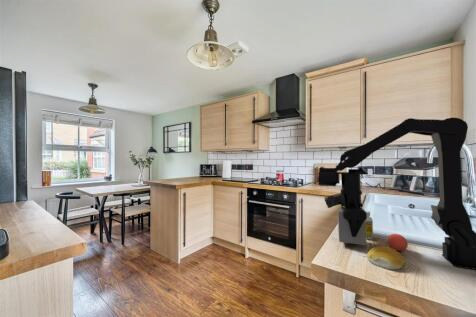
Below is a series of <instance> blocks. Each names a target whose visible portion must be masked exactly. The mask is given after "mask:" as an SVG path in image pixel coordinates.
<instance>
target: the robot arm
mask: <svg viewBox="0 0 476 317" xmlns="http://www.w3.org/2000/svg"><path fill="white" fill-rule="evenodd" d="M468 130H469V126H468V123H467V122H466V121H465V120H463V119H461V118H458V117H449V118H448V117H447V118H445V119H435V118H434V119H431V118H430V119H423V118H422V119H419V118H412V117H411V118H406V119H404V120H403V121H402V122H401V123H399V124H397V125H395V126H394V127H392V128H391V129H389V130H387V131H385V132H383V133H382V134H380V135H378V136H377V137H375V138H373V139H371V140H370V141H368V142H366V143H363V144H362V145H359V146H356V147H353V148H351V149H348V150H345V151H344V152H343V153H342V154H340V158H339V159H340V162H338V164H337V165H335V167H323V166H322V167H319V168H318V177H317V183H318V186H320V187H337V185H338V184H341V189H340V193H335V194H331V195H327V196H325V197H324V199H323V200H324V202H325V205H326V207H327V209H331V208H333V207H336V206H339V205H340V207H341V208H340V210H343V218H344V219H346V220H347V221H348V222H349V226H350V230H351V235H352V237H356V236H357V234H358V232H359V230H360V228H361V226H362V224H363V222H364V221H365V220H366V219H367V213H366V212H365V210H366V209H364V208H363V203H362V194H363V191H362V189H361V188H362V181H361V175H367V174H368V173H367V171H366V170H365V169H363V167H362V166H360V167H359V168H357V169H356V168H355V167H356V166H358V165H359V164H361V163H363V161H364V160H366V159H367V158H368V157H369V156H371V155H372V154H373V153H375V152H377V151H379V150H380V149H382V148H384V147H386V146H387V145H389V144H391V143H393V142H394V141H395V142H396V140H398V139H400V138H403V137H404V136H406V135H408V134H414V135H415V134H416V135H421V136H430V137H431V140H432V143H433V145H434V147H435V150H436V152H437V163H438V165H437V166H438V187H439V200H438V203H437V205H433V204H431V205H430V207H431V208H430V209H431V211H432V215H431V217H430V218H431V219H432V221H434V224H435V225H436V226H437V227H438V228H440V230H442V231H443V232H444V234H445V235H446V236H444V242H442V243H441V244H442V254H441V256H442V257H443V258H444V259H445V260H446V261H447V262H448V263H450V264H451V265H452V266H453V267H456V268H457V267H458V268H464V269H470V270H476V232H475V231H474V230H473V225H472V222H471V221H472V220H471V218H470V216H469V214H468V211H467V210H466V207H465V205H464V203H463V184H462V183H463V181H462V178H463V177H462V158H461V150H462V149H463V146H464V144H465V142H466V138H467V133H468ZM346 168H349V169H348V171H343V170H345V169H346ZM353 168H354V169H353ZM340 175H341V176H340ZM340 177H341V178H340ZM340 181H341V182H340Z"/></svg>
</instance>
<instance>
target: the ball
mask: <svg viewBox="0 0 476 317" xmlns="http://www.w3.org/2000/svg"><path fill="white" fill-rule="evenodd" d="M386 241H387V244H388V246H389V248H392V249H394V250H396V251H397V252H398V251H399V252H402V251H405V250H406V249H407V248H408V240H407V239H406V238H405V237H404V236H403V235H401V234H399V233H398V234H397V233H392V234H390V235H388V236H387V240H386Z"/></svg>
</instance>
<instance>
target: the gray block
mask: <svg viewBox="0 0 476 317" xmlns="http://www.w3.org/2000/svg"><path fill="white" fill-rule="evenodd" d="M337 224H338V225H337V226H338V227H337V229H338V242H339V243H347V244H354V245H360V246H361V245H362V246H367V245H368V244H367V239H366V220H365V221H364V222H363V224H362V226H361V228H360V230H359V232H358V234H357V236H356V237H352V235H351V230H350V226H349V222H348V221H347V220H346V219H344V218H343V210H342V209H337Z"/></svg>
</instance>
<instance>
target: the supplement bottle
mask: <svg viewBox="0 0 476 317" xmlns="http://www.w3.org/2000/svg"><path fill="white" fill-rule="evenodd" d="M364 210H365V212H366V213H367V219H366V240H372V239H373V238H374V228H373V227H374V226H373V223H374V222H373V218H372V217H371V211H369V210H366V209H364Z"/></svg>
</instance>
